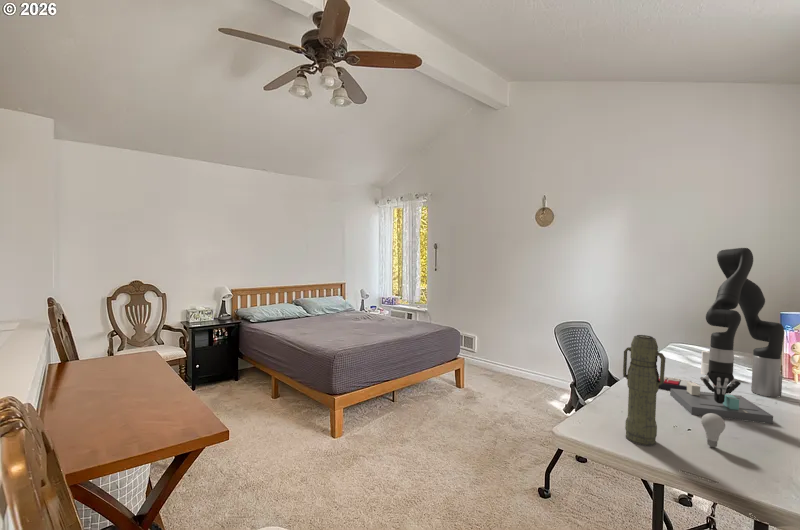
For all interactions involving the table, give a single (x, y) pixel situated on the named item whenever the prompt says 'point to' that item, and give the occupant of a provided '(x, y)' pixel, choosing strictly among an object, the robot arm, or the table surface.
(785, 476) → the table surface
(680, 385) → the calculator
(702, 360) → the white cylinder
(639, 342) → the thermos
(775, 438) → the table surface
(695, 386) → the block
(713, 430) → the lightbulb
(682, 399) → the console
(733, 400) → the fader teal
